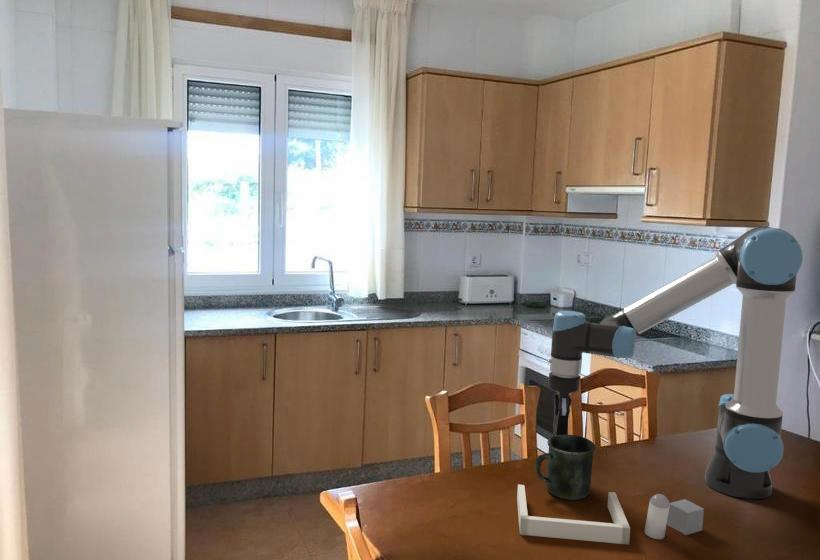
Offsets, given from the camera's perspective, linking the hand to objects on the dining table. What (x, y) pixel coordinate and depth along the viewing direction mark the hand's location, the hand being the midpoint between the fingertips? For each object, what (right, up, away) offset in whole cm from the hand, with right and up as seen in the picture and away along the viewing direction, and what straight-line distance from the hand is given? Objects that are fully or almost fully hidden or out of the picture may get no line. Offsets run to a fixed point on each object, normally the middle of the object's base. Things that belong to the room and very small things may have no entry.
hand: (556, 464), depth 171 cm
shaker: (+14, -7, -28) cm, 33 cm away
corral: (-2, -6, -23) cm, 24 cm away
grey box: (+22, -7, -25) cm, 34 cm away
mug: (-1, -4, -9) cm, 10 cm away
